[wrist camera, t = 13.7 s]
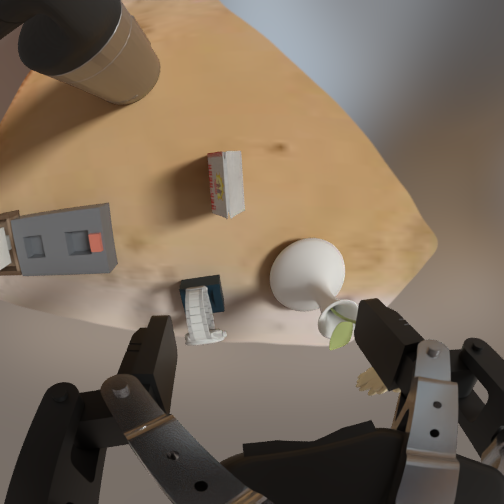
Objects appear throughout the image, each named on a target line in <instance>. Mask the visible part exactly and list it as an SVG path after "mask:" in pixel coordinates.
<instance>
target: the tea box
mask: <svg viewBox="0 0 504 504" xmlns="http://www.w3.org/2000/svg"><path fill="white" fill-rule="evenodd" d="M208 168H209V180H210V193H211V204H212V213H214V214H217V215H220V216H222V217H225V218H226V219H227V218H228V212H229V214H230V218H232V217H234V216H235V215H237V214H239V213H241V212H243V211H244V210H245V205H244V190H243V174H242V159H241V151H226V152H215V153H208Z"/></svg>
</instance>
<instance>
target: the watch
mask: <svg viewBox="0 0 504 504" xmlns="http://www.w3.org/2000/svg"><path fill="white" fill-rule="evenodd" d="M179 291H180V295H181V299H182V303H183V306H184V310H185V314H186V320H187V326H188V332H189V333H187V334H186V335H185V340H186V343H185V344H186V345H204V344H211V343H216V342H219V341H222V340H224V337H227V333H226V331H223V332H222V330H220V329H215V326H214V319H213V313H217V312H224V298H223V293H222V287H221V282H220V276H219V275H213V276H206V277H199V278H192V279H185V280H182V281H181V285H180V289H179ZM209 314H211V315H209ZM187 318H189V319H187Z"/></svg>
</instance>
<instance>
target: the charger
mask: <svg viewBox="0 0 504 504" xmlns="http://www.w3.org/2000/svg"><path fill="white" fill-rule="evenodd" d="M11 249H12V247H11V242H10V237H9V235H6V236H5V231H4V227H2V228H0V270H1V269H3V268H4V267H6V266H7V265H9V264H10V263H12V262H11V258H10V254H9V250H11Z"/></svg>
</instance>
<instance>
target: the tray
mask: <svg viewBox="0 0 504 504" xmlns="http://www.w3.org/2000/svg"><path fill="white" fill-rule="evenodd" d="M18 217H20V215H19V210H16V211H11V212H6V213H2V214H0V228H2V227H4V231H5V236H6V235H9V237H10V242H11V247H12V249H11V250H9V254H10V258H11V262H12V263H10V264H9V265H7V266H6V267H4V268H3V269H1V270H0V275H22V272H21V268H20V264H19V260H18V256H17V251H16V247H15V242H14V237H13V232H12V226H11V220H13V219H15V218H18Z"/></svg>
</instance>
